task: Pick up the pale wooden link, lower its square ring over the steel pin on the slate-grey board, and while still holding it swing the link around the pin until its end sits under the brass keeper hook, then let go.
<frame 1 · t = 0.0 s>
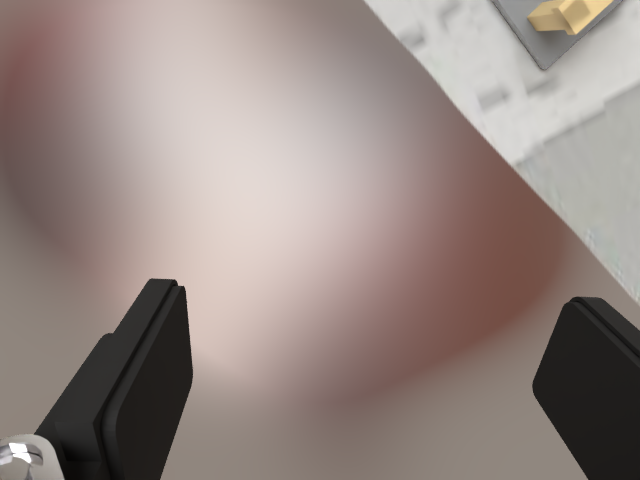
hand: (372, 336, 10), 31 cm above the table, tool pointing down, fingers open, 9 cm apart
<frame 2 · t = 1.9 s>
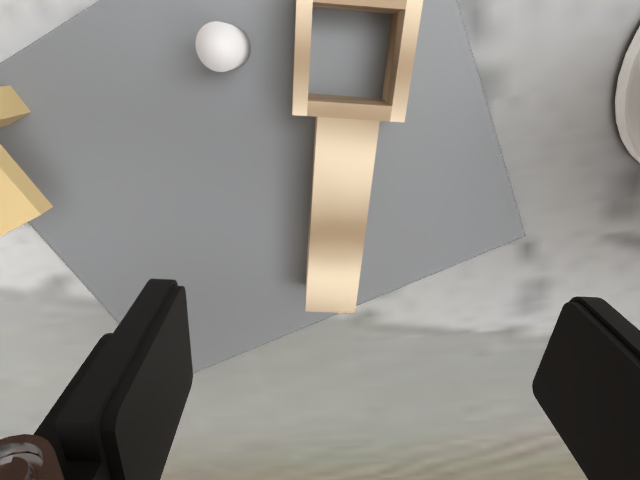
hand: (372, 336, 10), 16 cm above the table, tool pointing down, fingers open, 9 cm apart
slate base: (255, 173, 24), on the table
wooden link: (330, 259, 26), point 1 cm above the table, touching slate base
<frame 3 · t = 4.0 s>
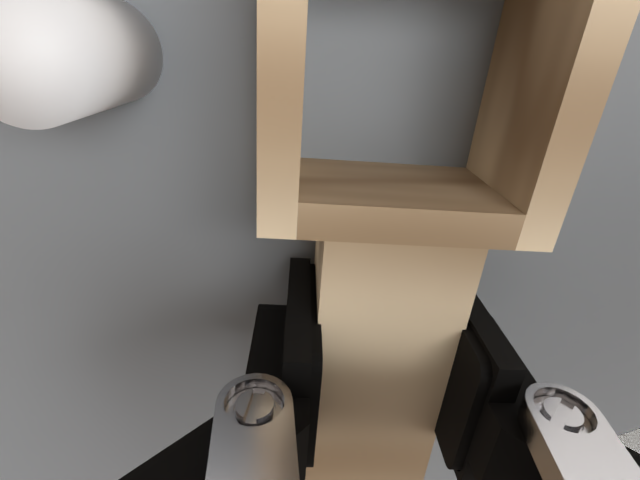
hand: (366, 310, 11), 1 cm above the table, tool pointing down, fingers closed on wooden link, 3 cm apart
slate base: (198, 300, 12), on the table
wooden link: (344, 445, 14), point 1 cm above the table, touching gripper, slate base
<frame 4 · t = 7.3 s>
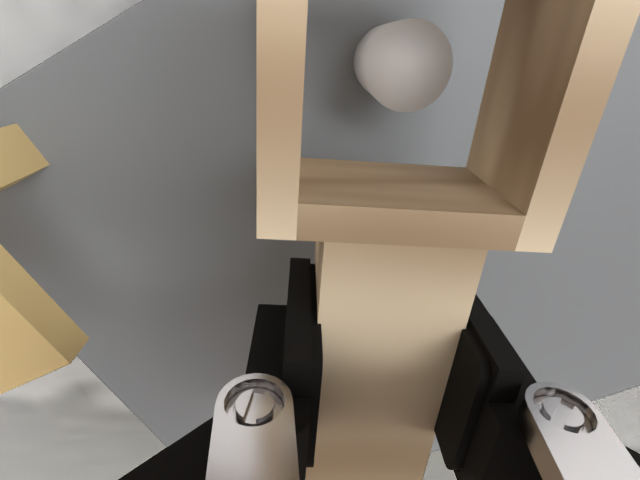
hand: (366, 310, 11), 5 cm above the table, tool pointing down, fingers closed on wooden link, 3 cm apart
slate base: (385, 249, 16), on the table
wooden link: (344, 443, 14), point 5 cm above the table, touching gripper
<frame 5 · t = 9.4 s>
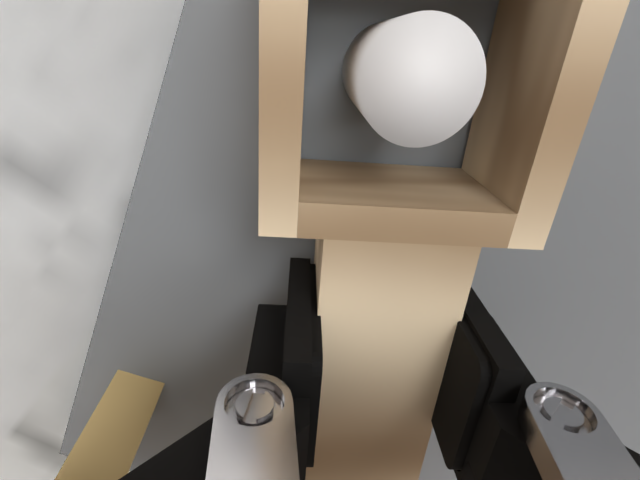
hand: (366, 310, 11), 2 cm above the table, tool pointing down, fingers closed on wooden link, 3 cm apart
slate base: (525, 244, 12), on the table
wooden link: (343, 440, 14), point 1 cm above the table, touching gripper
when the fingers open (2 cm above the table, at t = 10.8 s): wooden link stays where it is, resting on slate base.
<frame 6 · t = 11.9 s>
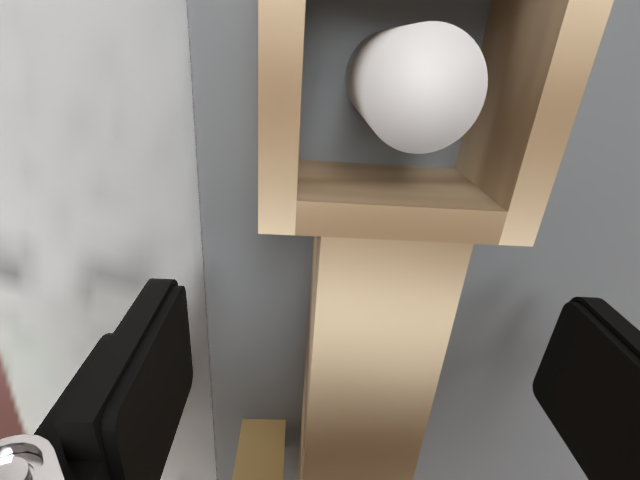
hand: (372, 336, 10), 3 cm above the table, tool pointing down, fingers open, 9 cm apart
slate base: (591, 183, 12), on the table
wooden link: (342, 436, 15), point 1 cm above the table, touching slate base
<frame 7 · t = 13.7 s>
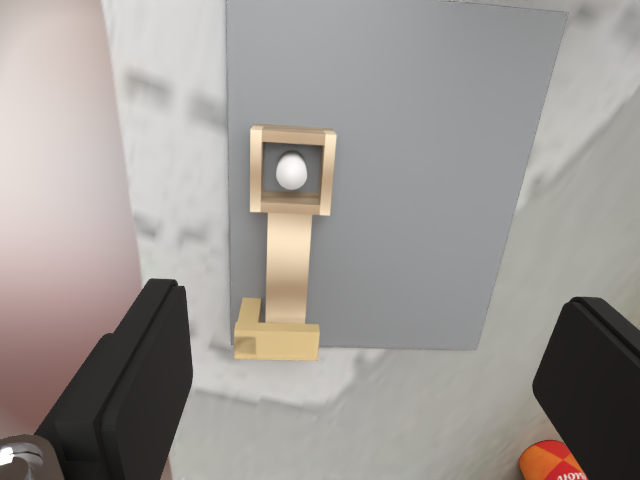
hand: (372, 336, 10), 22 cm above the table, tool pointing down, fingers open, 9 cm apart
slate base: (373, 198, 32), on the table
paper cup: (542, 456, 45), on the table
wooden link: (285, 307, 34), point 1 cm above the table, touching slate base
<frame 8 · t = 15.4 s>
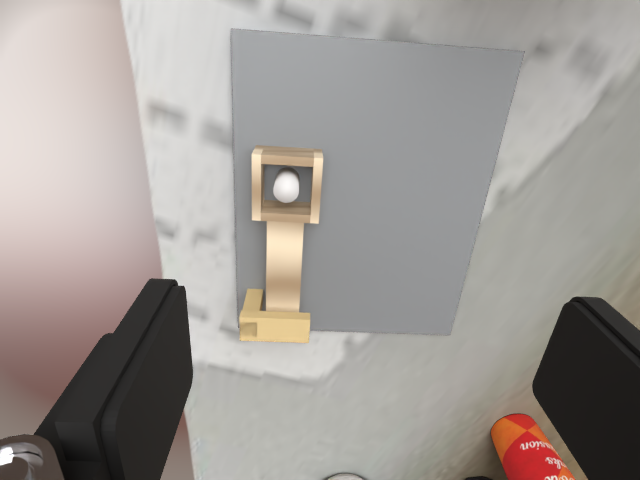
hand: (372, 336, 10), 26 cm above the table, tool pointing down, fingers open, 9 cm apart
slate base: (359, 205, 37), on the table
paper cup: (511, 427, 51), on the table
wooden link: (284, 296, 40), point 1 cm above the table, touching slate base
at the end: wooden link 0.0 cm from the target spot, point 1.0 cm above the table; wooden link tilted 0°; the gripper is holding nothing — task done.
